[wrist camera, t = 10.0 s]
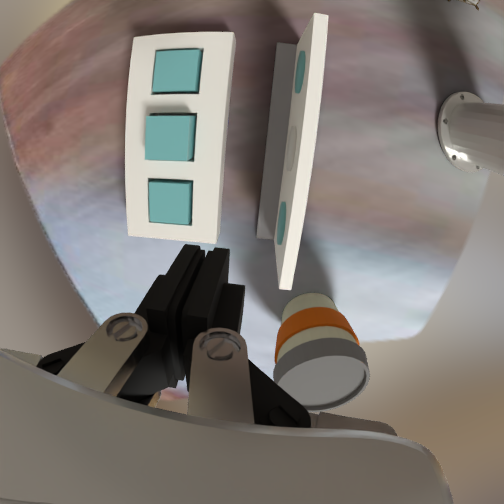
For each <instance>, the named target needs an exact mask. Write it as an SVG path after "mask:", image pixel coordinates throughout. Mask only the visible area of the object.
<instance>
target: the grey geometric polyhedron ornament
mask: <svg viewBox="0 0 504 504" xmlns="http://www.w3.org/2000/svg"><path fill="white" fill-rule="evenodd" d="M448 1H450V0H448ZM458 1H461V2H465V3H468V4H471V5H474V6H475V7H476V9H477V10H479V8H478V6H477V4H478V3H479V1H480V0H458Z"/></svg>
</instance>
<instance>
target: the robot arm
mask: <svg viewBox="0 0 504 504" xmlns="http://www.w3.org/2000/svg"><path fill="white" fill-rule="evenodd" d="M438 135H439V140H440V144H441V147H442V150H443V152H444V154H445V156H446V157H447V159H448V160H449V161H450V162H451V164H453V165H454V166H455V167H456V168H458V169H460V170H462V171H465V172H477V171H479V170H481V169H483V168H485V169H488V170H490V171H493V172H495V173H498V174H500V175H503V176H504V105H502V104H492V103H484V102H483V101H482V100H481V99H480V98H479V97H478V96H476V95H475V94H472V93H470V92H456V93H453V94H452V95H450V96H449V97H448V98H447V99H446V100H445V101H444V103H443V105H442V107H441V110H440V112H439V118H438ZM229 256H230V250H229V249H225V248H216V247H215V248H214V250H213V251H208V253H207V255H206V257H205V250H200V246H198V245H189V244H185V245H184V246H183V248H182V249H181V251H180V253H179V254H178V256H177V257H176V259H175V261H174V262H173V264H172V265H171V267H170V269H169V270H168V272H167V273H166V275H159V276H158V277H157V278H156V280H155V281H154V283H153V284H152V286H151V288H150V289H149V291H148V292H147V294H146V296H145V297H144V299H143V300H142V302H141V304H140V305H139V307H138V308H137V310H136V312H135V313H120V314H116V315H113V316H111V317H110V318H108V319H107V320H106V321H105V322H104V323H103V324H102V325H101V326H100V327H99V328H98V329H97V330H96V332H95V333H94V334H93V335H92V336H91V337H90V338H89V339H88V341H86V342H84V343H81V344H78V345H76V346H73V347H70V348H67V349H64V350H61V351H58V352H55V353H52V354H49V355H47V356H46V357H44V358H43V357H42V356H41V355H37V354H31V353H25V352H20V351H14V350H9V349H0V504H453V499H452V495H451V492H450V488H449V485H448V482H447V479H446V477H445V474H444V472H443V469H442V467H441V465H440V463H439V461H438V460H437V459H436V457H435V455H434V454H433V453H432V452H431V451H430V450H429V449H427V448H426V447H424V446H423V445H421V444H419V443H417V442H414V441H411V440H409V439H406V438H402V437H398V436H397V434H396V432H395V430H394V429H393V428H392V427H391V426H389V425H388V424H386V423H382V422H378V421H371V420H364V419H358V418H352V417H345V416H340V415H335V414H330V413H325V412H320V413H319V415H318V414H313V413H309V412H308V411H307V410H306V409H305V408H304V406H303V405H301V404H300V403H299V402H298V401H297V400H295V399H294V398H293V397H292V396H290V395H289V394H288V393H287V392H286V391H284V390H283V389H282V388H281V387H280V386H279V385H277V384H276V383H275V382H274V381H273V380H272V379H270V378H269V377H268V376H267V375H266V374H265V373H263V372H262V371H261V370H260V369H259V368H258V367H257V366H256V365H254V364H253V363H252V362H251V361H250V360H249V359H248V354H247V345H246V342H245V340H244V338H243V337H242V336H241V335H240V330H241V323H242V315H243V307H244V296H245V285H238V284H229V283H228V273H229ZM185 374H186V382H187V390H188V392H189V398H188V412H187V415H186V414H181V413H177V412H172V411H167V410H163V409H159V408H155V406H156V404H157V403H158V401H159V399H160V396H161V390H163V389H165V388H167V387H172V388H176V386H177V383H178V380H182V381H183V380H184V377H185Z"/></svg>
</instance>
